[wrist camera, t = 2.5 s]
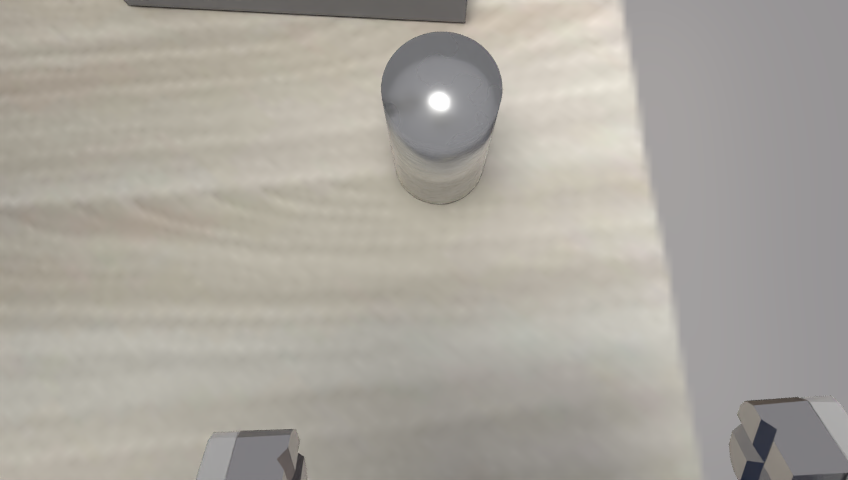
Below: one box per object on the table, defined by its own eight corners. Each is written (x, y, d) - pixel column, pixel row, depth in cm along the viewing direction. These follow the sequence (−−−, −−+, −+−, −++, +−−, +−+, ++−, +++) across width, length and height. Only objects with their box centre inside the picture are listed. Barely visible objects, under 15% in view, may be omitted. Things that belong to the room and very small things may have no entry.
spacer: (391, 201, 36) (376, 141, 27) (398, 116, 37) (385, 28, 28) (481, 206, 36) (499, 148, 27) (485, 121, 37) (504, 34, 27)
